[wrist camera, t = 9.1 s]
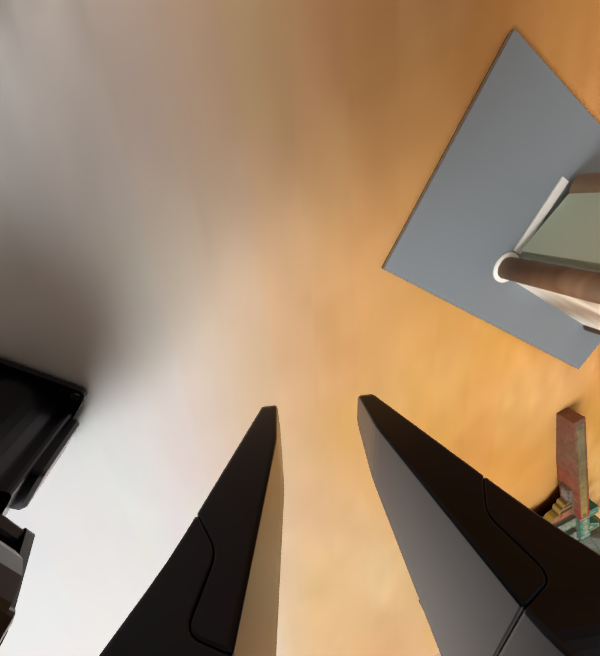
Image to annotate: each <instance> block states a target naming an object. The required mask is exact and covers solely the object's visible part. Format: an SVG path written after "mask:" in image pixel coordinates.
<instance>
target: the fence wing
mask: <svg viewBox="0 0 600 656" xmlns="http://www.w3.org/2000/svg"><path fill="white" fill-rule="evenodd" d="M521 252H522V253H523V254H524V255H525V257H526V258H527V259H531V260H537V261H542V262H548V263H554V264H559V265H565V266H570V267H576V268H582V269H587V270H593V271H598V272H600V172H597V173H586V174H581V175H579V176H578V177H577V178H576V179H575V180H574V181H573V183H572V185H571V187H570V190H569V194H568V195H567V196H566V198H565V199H564V200H563V201H562V202H561V204H560V205H559V206H558V207H557V208H556V209H555V211H554V212H553V213H552V214H551V215H550V217H549V218H548V219H547V220H546V221H545V222H544V224H543V225H542V226H541V227H540V228H539V230H538V231H537V232H536V233H535V234H534V235H533V237H532V238H531V239H530V240H529V241H528V243H527V244H526V245H525V246H524V247H523V248H522V250H521Z"/></svg>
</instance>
